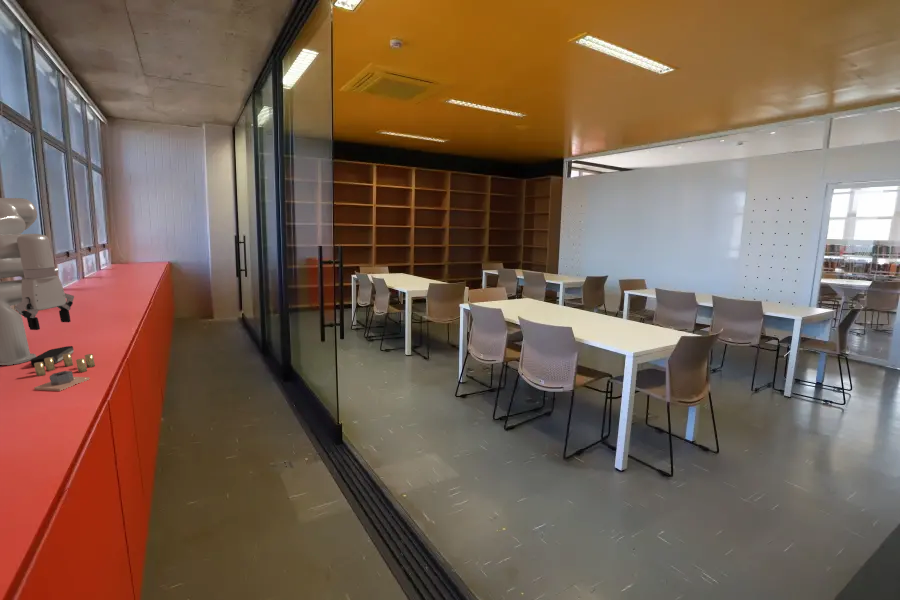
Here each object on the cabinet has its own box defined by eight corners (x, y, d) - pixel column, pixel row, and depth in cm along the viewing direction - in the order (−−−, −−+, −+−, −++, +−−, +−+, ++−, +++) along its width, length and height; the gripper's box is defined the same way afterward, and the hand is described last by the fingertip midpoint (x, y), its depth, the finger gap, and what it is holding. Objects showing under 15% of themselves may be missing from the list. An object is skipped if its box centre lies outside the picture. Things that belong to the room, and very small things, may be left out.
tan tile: (34, 389, 145) (34, 387, 144) (65, 378, 154) (65, 376, 154) (60, 391, 143) (59, 388, 143) (89, 379, 153) (89, 377, 152)
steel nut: (47, 384, 146) (45, 375, 146) (62, 379, 151) (61, 370, 151) (62, 385, 146) (60, 376, 145) (77, 379, 150) (75, 371, 150)
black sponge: (56, 365, 169) (54, 356, 168) (29, 368, 167) (27, 359, 166) (76, 353, 184) (74, 345, 184) (51, 356, 182) (49, 347, 181)
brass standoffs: (30, 375, 158) (27, 363, 157) (65, 364, 170) (62, 352, 169) (68, 377, 155) (66, 365, 154) (101, 365, 167) (99, 354, 166)
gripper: (58, 270, 151) (68, 319, 154) (-1, 277, 134) (11, 332, 137) (76, 270, 149) (86, 319, 153) (19, 278, 133) (31, 333, 136)
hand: (50, 325), depth 145 cm, fingers open, 9 cm apart
